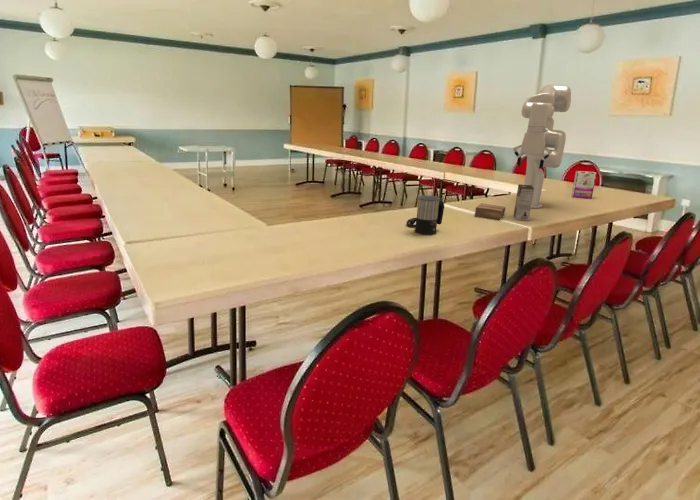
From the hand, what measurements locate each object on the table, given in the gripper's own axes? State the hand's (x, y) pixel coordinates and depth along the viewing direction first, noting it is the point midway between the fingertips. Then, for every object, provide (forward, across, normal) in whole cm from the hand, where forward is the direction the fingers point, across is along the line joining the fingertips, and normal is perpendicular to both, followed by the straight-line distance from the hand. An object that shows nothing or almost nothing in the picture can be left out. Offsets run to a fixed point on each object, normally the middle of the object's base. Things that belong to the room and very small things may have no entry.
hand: (529, 167), depth 225 cm
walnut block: (+26, +14, +6) cm, 30 cm away
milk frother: (+26, +34, +52) cm, 68 cm away
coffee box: (+25, 0, 0) cm, 25 cm away
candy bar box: (+25, -25, -89) cm, 96 cm away
